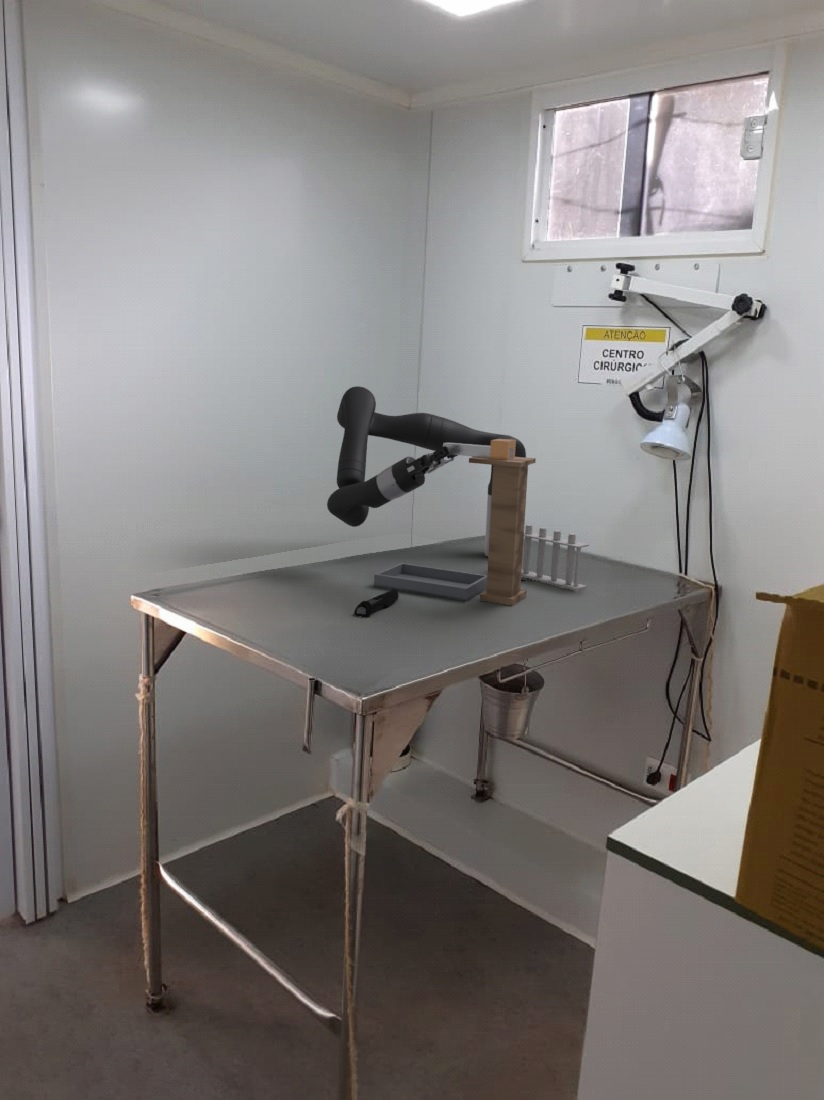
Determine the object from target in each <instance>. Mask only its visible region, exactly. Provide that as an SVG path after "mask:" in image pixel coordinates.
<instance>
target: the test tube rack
mask: <svg viewBox="0 0 824 1100" xmlns="http://www.w3.org/2000/svg"><path fill="white" fill-rule="evenodd" d="M533 528H534V526H533V525H532V524H529V523H527V524H525V526H524V543H523V559H522V573H521V576H522V577H521V578H523V577H525V578H524V579H526V578H529V579H528V580H530V579H532V580H531V581H534V580H536V581H535V582H538V581H540V582H539V583H542V582H543V584H546V583H547V585H549V584H552V585H551V586H553V585H555V587H557V586H559V587H558V588H561V587H563V588H562V589H565V588H566V589H565V590H568V589H570V590H569V591H572V590H573V591H572V592H577V591H576V590H578V591H581V590H580V589H582V590H585V589H584V588H586V589H587V585H585V584H581V583H579V573H580V560H581V559H580V558H581V550H582V548H586V547H589V546H590V545H589V543H585V542H580V541H576V537H577V536H576V533H573V532H572V533H568V535H567V538H568V539H566V538H561V537H562V535H561V534H562V532H561V530H558V529H557V530H556V529H555V530H553V536H551V535H548V534H547V527H543V526H540V527H539V530H538V533H536V532H533ZM532 539H534V540H538V543H537V544H538V545H537V546H538V547H537V561H536V563H537V564H536V572H534V571H530V569H531V559H532V558H531V557H532V556H531V554H532V542H533V541H532ZM547 542H548V543H552V550H551V551H552V552H551V553H552V555H551V565H550V566H551V567H550V576H549V575H545V574H544V572H545V571H544V570H545V558H546V557H545V556H546V545H547ZM561 546H566V547H567V553H566V563H565V564H566V565H565V578H564V579H561V578H558V576H559V565H560V563H559V562H560V552H561V551H560V550H561ZM575 553H576V560H575ZM574 565H575V570H574ZM574 571H575V572H574ZM574 573H575V575H574ZM573 575H574V576H573ZM573 578H574V581H573Z"/></svg>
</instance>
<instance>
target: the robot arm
mask: <svg viewBox="0 0 824 1100" xmlns="http://www.w3.org/2000/svg"><path fill="white" fill-rule="evenodd" d="M376 405H377V402H376V397H375V396H374V394H373V393H372V391H370V389H368V388H366V387H363V386H359V385H358V386H356V385H355V386H352V387H350V388H348V389H347V390H346V391H345V392H344V393H343V396H342V397H341V400H340V403H339V407H338V410H337V414H336V421H337V423H338V424H339V425H340V427H341V428H342V429H344V432H343V438H342V442H341V447H340V452H339V456H338V457H339V458H338V462H337V463H338V464H337V473H336V485H337V489H336V490H335V491H333V492H332V493H331V494H330V495H329V497H328V499H327V501H326V506H327V510H328V511H329V513H330V514H331V515H333V516H334V517H335V518H337V519H339V520H340V521H341V522H343V523H345V524H346V525H348V526H349V527H354V528H357V527H360V526H361V525H363V524H364V522H365V521H366V520H367V518H368V515H369V510H370V508H371V509H377V508H380V507H382V506H384V505H385V504H388V503H390V502H391V501H393V500H396V499H398V498H402V497H403V496H406V495H407V494H409V493H410V492H412V491H414V490H416V489H418V488H420V487H422V486H423V485H424V484H425V481H426V474H431V473H433V472H435V471H437V470H438V469H439V468H442V467H444V466H445V465H446V464H448V463H450V462H453V461H454V460H455V458H456V457H458V456H459V455H451V452H450V450H449V448H448V446H444V447H443V443H447V442H448V443H460V444H473V445H486V446H491V440H495V439H509V440H516V447H515V457H525V458H527V451H526V448H525V446H524V444H523V442H522V441H521V440H520V439H518V438H516V437H514V436H512V435H509V434H499V433H492V432H487V431H482V430H478V429H474V428H471V427H469V426H466V425H465V424H462V423H459V422H457V421H455V420H451V419H449V418H446V417H442V416H439V415H436V414H432V413H427V412H414V413H406V414H402V415H401V414H399V415H387V414H383V413H378V412H376V408H377V406H376ZM369 436H370V437H377V438H382V439H388V440H393V441H395V442H396V441H397V442H400V443H404V444H407V445H408V444H409V445H412V446H416V447H420V448H422V449H426V450H429V451H432V452H429V453H426V454H423V455H422V456H420V457H418V458H414V457H413V456H407V457H406V456H405V457H404V458H403V459H401V460H399V461H397V462H395V463H393V464H392V465H390V466H388V467H387V468H385V469H384V470H382V471H381V472H380V473H379V472H378V474H376V475H374V476H373V477H371V478H369V479H368V480H366V468H367V452H368V451H367V450H368V440H369ZM472 457H474V456H470V458H472ZM445 458H447V459H445ZM490 467H491V468H490V479H489V483H488V485H487V497H486V498H487V503H486V519H485V521H486V522H485V523H486V524H485V537H484V538H485V539H484V556H485V555H486V556H485V557H487V556H488V555H489V536H490V517H491V498H492V478H493V465H491V466H490Z"/></svg>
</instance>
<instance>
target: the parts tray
mask: <svg viewBox="0 0 824 1100" xmlns="http://www.w3.org/2000/svg"><path fill="white" fill-rule="evenodd" d="M373 579H374V580H373V587H375V588H380V589H387V590H393V589H397V591H399V592H406V593H411V594H416V595H424V596H429V597H435V598H441V599H447V600H454V601H459V600H460V601H459V602H465V601H466V602H468V601H470V600H471V599H473V598H475V597H477V596H478V595H480V594H481V593H483V592H484V590H485V591H486V590H487V574H480V573H473V572H467V571H466V572H465V571H461V570H460V571H459V570H453V569H445V568H439V567H433V566H426V565H420V564H418V565H417V564H412V563H405V562H400V563H398V564H395V565H393V566H390V567H388V568H386V569H384V570H382V571H378V572H377V573H374V575H373ZM474 596H475V597H474ZM469 599H470V600H469Z"/></svg>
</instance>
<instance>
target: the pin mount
mask: <svg viewBox="0 0 824 1100" xmlns="http://www.w3.org/2000/svg"><path fill="white" fill-rule="evenodd" d="M468 463H469V464H481V465H493V478H492V498H491V517H490V536H489V555H488V557H487V559H488V560H487V574H486V575H487V589H486V590H485V591H483V592H481V593H480V594H479V601H480V602H481V601H482V602H486V601H487V602H486V603H492V602H493V603H494V604H498V603H500V604H499V605H504V604H507V605H506V606H510V605H514V606H515V605H516V604H518V603H519V602H521V601H522V600H524V599H525V598H526V597H527V592H528V591H527V589H521V588H522V577H521V573H522V570H523V558H524V542H525V536H524V531H525V525H526V524H525V521H526V505H527V487H528V486H527V485H528V471H529V465H532V464H536V457H534V458H533V457H526V458H525V457H515V458H513V459H509V460H501V459H490V458H486V457H469V458H468ZM523 598H524V599H523ZM520 600H521V601H520ZM517 602H518V603H517ZM493 603H492V604H493Z"/></svg>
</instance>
